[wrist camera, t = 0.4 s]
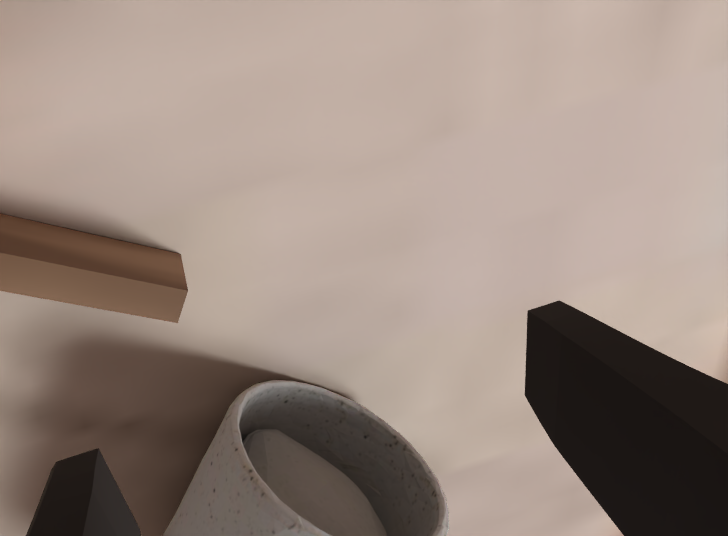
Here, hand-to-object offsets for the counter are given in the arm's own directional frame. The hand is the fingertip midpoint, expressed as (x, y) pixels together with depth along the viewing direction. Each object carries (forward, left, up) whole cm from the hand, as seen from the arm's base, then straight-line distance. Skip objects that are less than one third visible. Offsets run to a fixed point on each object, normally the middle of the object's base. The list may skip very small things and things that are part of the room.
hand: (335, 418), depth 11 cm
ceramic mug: (-9, -5, -11) cm, 15 cm away
